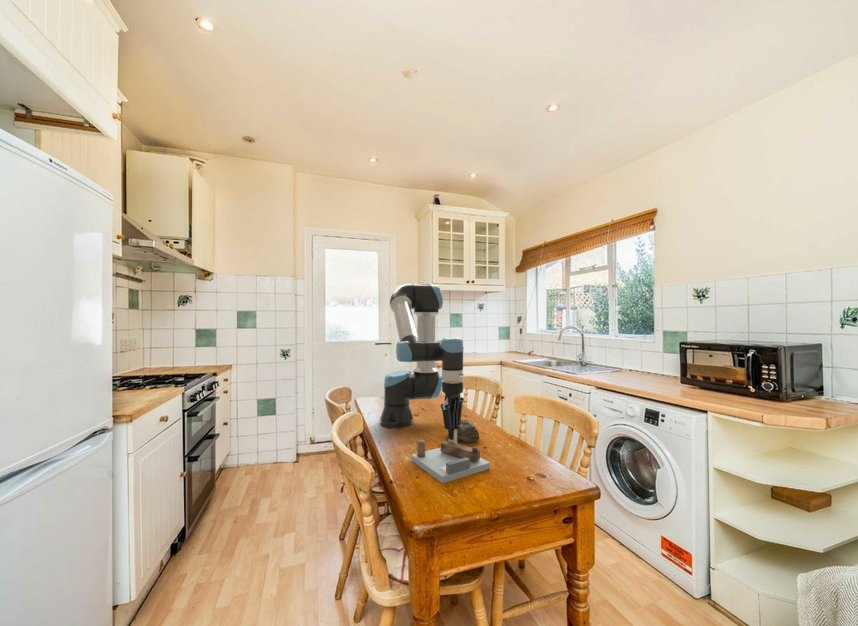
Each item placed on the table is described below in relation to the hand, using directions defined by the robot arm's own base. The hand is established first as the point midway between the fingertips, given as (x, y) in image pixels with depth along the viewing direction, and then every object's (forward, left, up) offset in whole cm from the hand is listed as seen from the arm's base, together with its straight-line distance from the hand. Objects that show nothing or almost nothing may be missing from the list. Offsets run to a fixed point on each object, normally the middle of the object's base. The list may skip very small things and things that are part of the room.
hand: (452, 447), depth 123 cm
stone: (-13, +15, -4) cm, 20 cm away
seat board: (+5, -5, -3) cm, 7 cm away
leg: (+5, -1, -1) cm, 5 cm away
